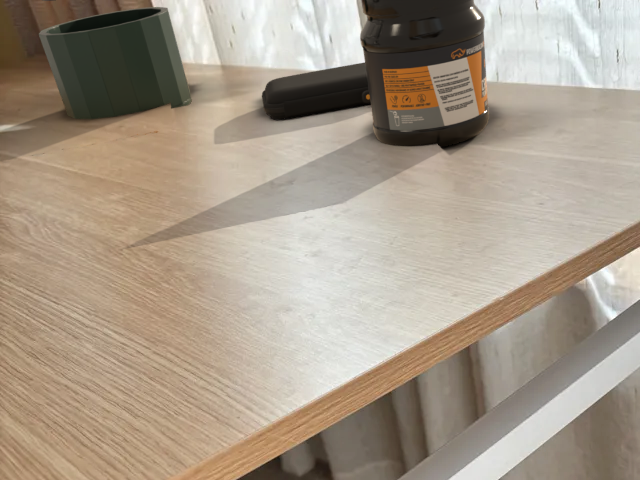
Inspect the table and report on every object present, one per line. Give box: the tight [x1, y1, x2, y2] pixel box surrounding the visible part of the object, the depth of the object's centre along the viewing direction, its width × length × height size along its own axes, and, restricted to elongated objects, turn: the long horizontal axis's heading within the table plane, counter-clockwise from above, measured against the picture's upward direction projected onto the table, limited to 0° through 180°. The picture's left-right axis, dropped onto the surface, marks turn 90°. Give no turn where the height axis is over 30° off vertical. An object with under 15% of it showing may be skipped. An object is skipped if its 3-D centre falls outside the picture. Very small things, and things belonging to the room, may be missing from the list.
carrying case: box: [261, 61, 371, 121], centre depth 86 cm, size 11×3×15 cm
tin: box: [38, 6, 193, 120], centre depth 96 cm, size 15×15×10 cm
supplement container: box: [359, 0, 490, 148], centre depth 70 cm, size 10×10×12 cm
